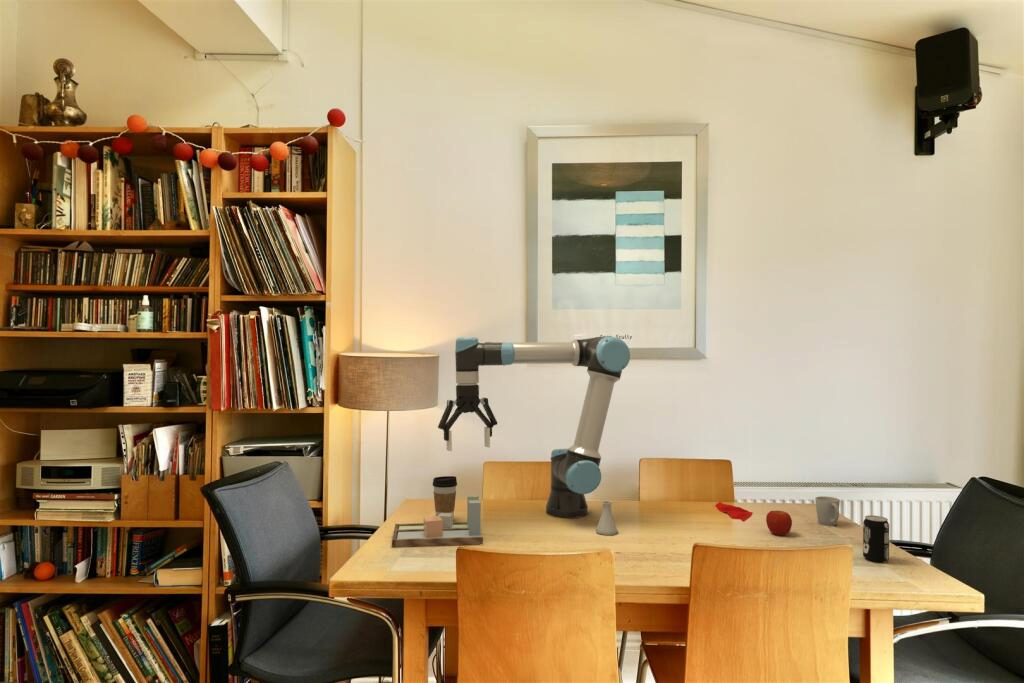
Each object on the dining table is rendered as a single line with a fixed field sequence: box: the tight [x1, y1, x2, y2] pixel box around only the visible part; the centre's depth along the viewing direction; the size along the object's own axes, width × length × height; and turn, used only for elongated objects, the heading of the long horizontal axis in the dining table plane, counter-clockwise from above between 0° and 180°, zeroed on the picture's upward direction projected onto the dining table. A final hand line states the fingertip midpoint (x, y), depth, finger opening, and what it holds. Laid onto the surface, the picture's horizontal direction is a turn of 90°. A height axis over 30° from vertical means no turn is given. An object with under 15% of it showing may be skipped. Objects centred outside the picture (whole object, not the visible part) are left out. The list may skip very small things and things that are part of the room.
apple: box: [765, 510, 793, 536], centre depth 219 cm, size 8×8×8 cm
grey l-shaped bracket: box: [399, 493, 480, 530], centre depth 218 cm, size 26×5×12 cm, turn 97°
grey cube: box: [438, 513, 454, 528], centre depth 218 cm, size 4×4×4 cm
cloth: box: [715, 501, 754, 522], centre depth 247 cm, size 26×14×2 cm, turn 171°
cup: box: [815, 495, 841, 527], centre depth 231 cm, size 8×10×8 cm
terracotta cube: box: [423, 515, 443, 538], centre depth 209 cm, size 5×5×5 cm
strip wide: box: [397, 499, 483, 539], centre depth 210 cm, size 26×8×12 cm, turn 97°
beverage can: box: [862, 514, 890, 564], centre depth 194 cm, size 7×7×12 cm
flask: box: [595, 500, 619, 536], centre depth 220 cm, size 7×7×10 cm
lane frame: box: [391, 521, 484, 549], centre depth 213 cm, size 27×18×2 cm, turn 97°
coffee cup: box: [432, 475, 458, 519], centre depth 233 cm, size 8×8×15 cm
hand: (468, 448), depth 223 cm, fingers open, 13 cm apart
